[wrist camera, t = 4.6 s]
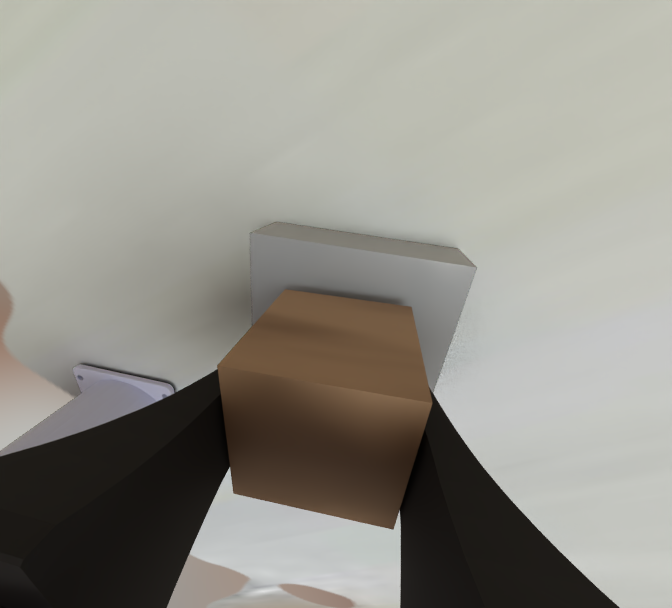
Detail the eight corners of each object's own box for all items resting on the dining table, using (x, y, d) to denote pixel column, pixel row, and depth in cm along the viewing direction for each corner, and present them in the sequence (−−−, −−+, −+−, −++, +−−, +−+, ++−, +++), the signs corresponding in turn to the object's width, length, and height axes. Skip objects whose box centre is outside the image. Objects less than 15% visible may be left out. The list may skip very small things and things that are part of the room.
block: (390, 404, 13) (393, 529, 8) (284, 385, 13) (233, 493, 9) (411, 306, 10) (432, 403, 6) (285, 289, 11) (217, 365, 7)
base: (413, 392, 17) (418, 433, 14) (273, 363, 18) (253, 397, 15) (458, 248, 13) (477, 267, 10) (276, 222, 14) (249, 232, 11)
